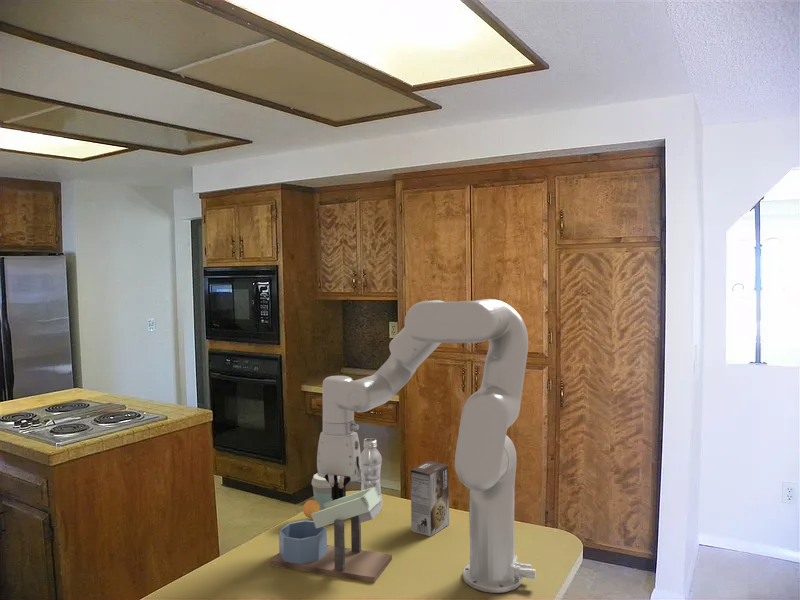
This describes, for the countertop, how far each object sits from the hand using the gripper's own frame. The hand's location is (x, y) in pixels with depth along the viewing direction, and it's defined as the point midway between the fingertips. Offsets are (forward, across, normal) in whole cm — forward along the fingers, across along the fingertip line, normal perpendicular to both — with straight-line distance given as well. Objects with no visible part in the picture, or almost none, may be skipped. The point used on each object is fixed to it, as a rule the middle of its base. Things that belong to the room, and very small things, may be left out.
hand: (338, 502), depth 143 cm
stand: (+11, -2, +9) cm, 14 cm away
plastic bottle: (+11, 0, -22) cm, 25 cm away
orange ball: (-1, +3, +9) cm, 9 cm away
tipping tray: (+1, -7, +6) cm, 9 cm away
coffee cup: (+11, +10, -13) cm, 20 cm away
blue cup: (+10, +5, +9) cm, 14 cm away
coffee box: (+11, -18, -16) cm, 27 cm away
